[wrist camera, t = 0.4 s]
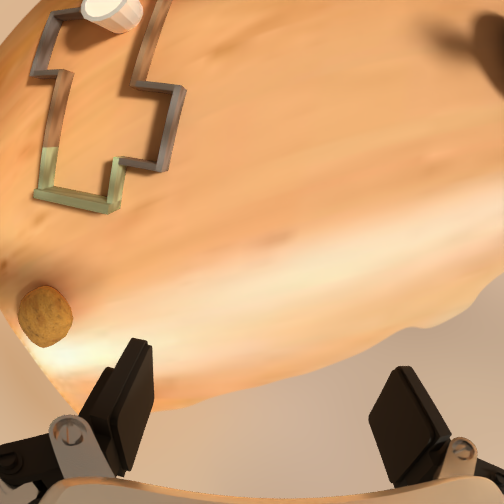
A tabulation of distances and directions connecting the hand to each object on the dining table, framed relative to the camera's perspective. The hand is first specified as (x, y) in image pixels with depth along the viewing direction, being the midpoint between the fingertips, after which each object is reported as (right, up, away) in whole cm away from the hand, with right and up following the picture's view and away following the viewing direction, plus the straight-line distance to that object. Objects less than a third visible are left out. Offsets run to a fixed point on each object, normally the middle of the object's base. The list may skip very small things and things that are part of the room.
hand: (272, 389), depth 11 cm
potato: (-34, -4, +33) cm, 48 cm away
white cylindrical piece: (-18, +37, +20) cm, 46 cm away
